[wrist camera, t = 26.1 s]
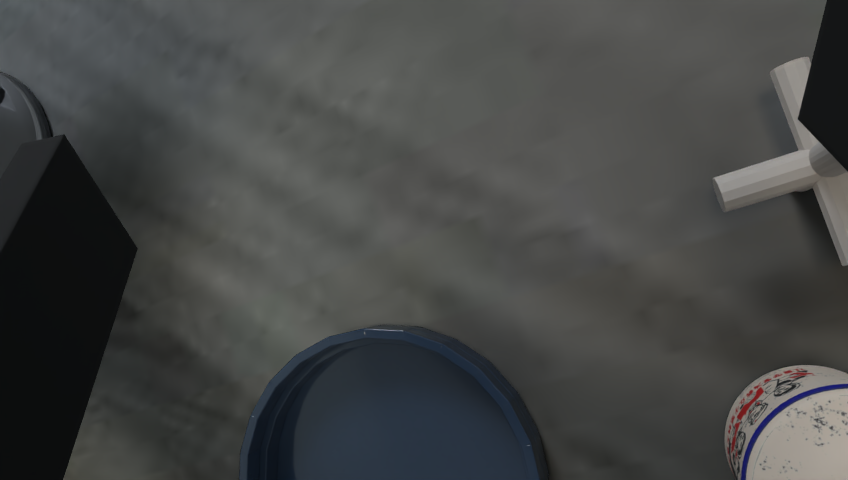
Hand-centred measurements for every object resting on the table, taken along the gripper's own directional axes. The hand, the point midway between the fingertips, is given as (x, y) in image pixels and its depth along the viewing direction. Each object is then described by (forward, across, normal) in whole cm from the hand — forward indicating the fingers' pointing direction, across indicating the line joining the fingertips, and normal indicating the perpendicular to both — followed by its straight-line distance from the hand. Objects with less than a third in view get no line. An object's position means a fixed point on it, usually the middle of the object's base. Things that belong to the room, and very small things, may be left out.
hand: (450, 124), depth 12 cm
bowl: (+12, -7, -33) cm, 36 cm away
